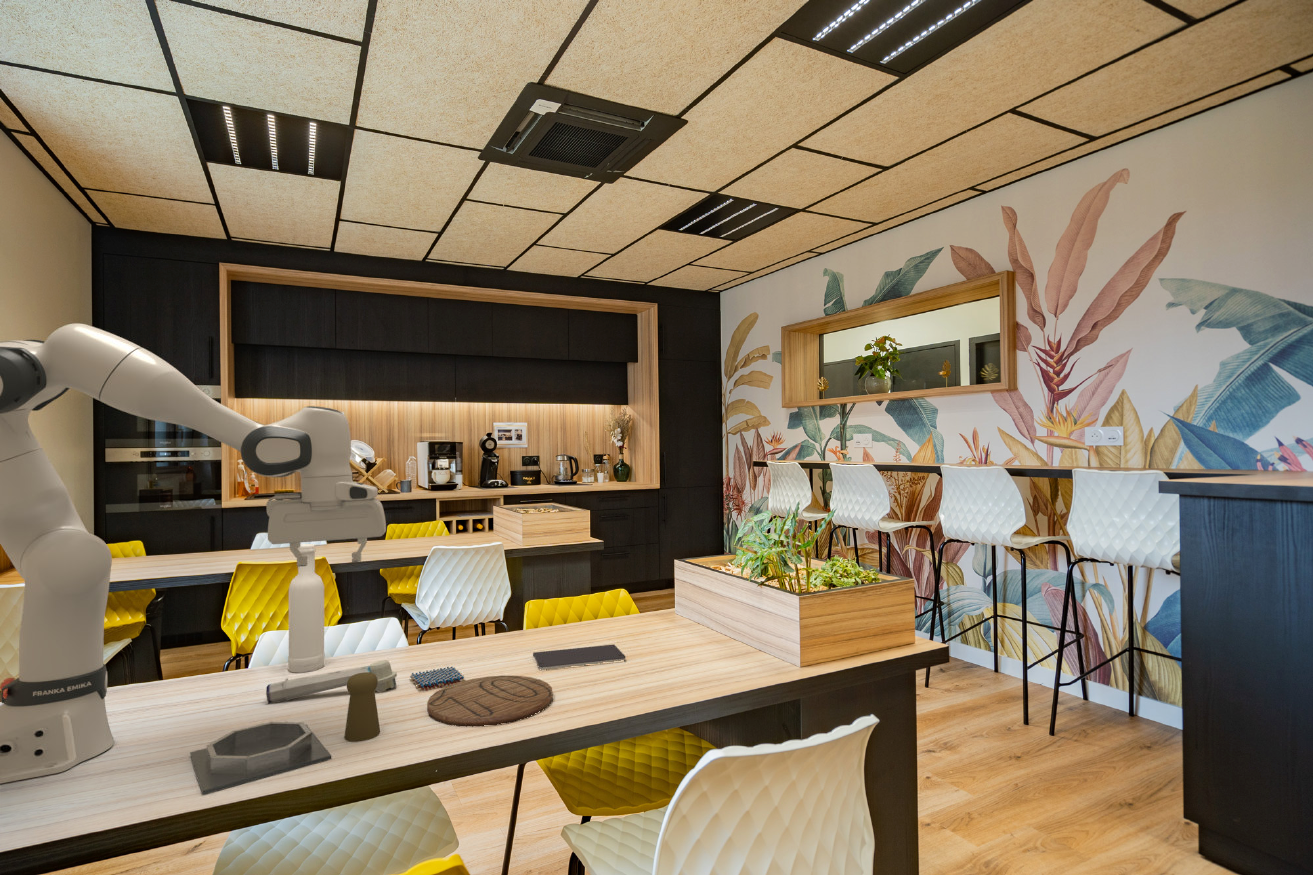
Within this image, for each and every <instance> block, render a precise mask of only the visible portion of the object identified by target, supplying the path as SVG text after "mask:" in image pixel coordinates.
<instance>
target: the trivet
mask: <svg viewBox="0 0 1313 875" xmlns="http://www.w3.org/2000/svg"><path fill="white" fill-rule="evenodd" d="M465 680H466V679H465ZM551 701H552V702H553V687H552V686H551V685H550V684H549V683H548V682H547V681H544V680H541V679H539V678H534V677H531V676H524V675H523V676H522V675H492V676H484V677H478V678H471V679H467V680H466V681H462V682H458V683H455V684H454V683H453V684H452V685H449V686H446V687H442V688H440V689H439V690H436V691H435V692H434V693H433V694H432V695H430V697H428V700H427V702H426V705H427V706H426V710H427V714H428V716H429V718H431V719H432V720H433V721H435V722H438V723H440V724H444V725H449V726H453V725H454V727H460V726H466V728H467V726H472V728H474V727H473V726H482V727H485V726H484V725H494V726H498V725H497V724H500V725H502V724H501V723H506V724H510V723H509V722H511V723H515V722H519V721H521V720H520V719H522V720H525V719H524V718H526V719H528V718H527V717H529V718H530V716H531V715H533V716H535V715H536V714H535V713H538V712H539V711H541V712H543V711H544V710H545V709H544V708H546V707H547V706H548V707H550V705H551V704H552V702H551ZM549 704H550V705H549ZM548 707H547V708H548ZM547 708H546V709H547ZM543 709H544V710H543ZM542 710H543V711H542ZM534 714H535V715H534ZM538 714H539V713H538ZM531 717H532V716H531ZM518 720H519V721H518ZM514 721H515V722H514ZM455 725H456V726H455Z"/></svg>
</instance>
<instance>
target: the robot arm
mask: <svg viewBox="0 0 1313 875" xmlns="http://www.w3.org/2000/svg"><path fill="white" fill-rule="evenodd" d="M70 389H72V390H76V391H78V392H81V393H82V394H83V393H84V394H86V395H87V396H89V397H90V398H93V399H95V400H97V401H100V402H101V403H102V404H103V403H104V404H105V405H107V406H109V407H112V408H114V409H117V410H119V411H120V412H125V413H127V414H129V415H133V416H136V417H140V418H143V419H147V420H150V421H156V422H157V421H158V422H163V423H169V424H174V425H178V426H183V427H186V428H188V429H192V430H194V431H197V432H199V433H202V434H204V435H206V436H208V437H209V438H212V439H214V440H216V441H218V442H221V443H222V444H224V445H226V446H228V447H231V448H233V449H235V450H236V451H238V452H239V453H240V457H241V459H242V462H243V463H244V465H245V466H246V467H247V468H248V469H249V470H250V471H252V472H253V473H255V474H257V475H259V476H263V477H268V478H284V477H289V476H292V475H293V474H295V473H297V472H299V474H300V491H301V492H293V493H278V494H275V495H274V496H272V497H270V498H269V499H268V500H267V502H266V514H267V516H268V517H269V518H268V525H267V540H268V542H269V543H270V544H272V545H282V544H283V545H284V544H285V545H286V544H289V551H290V552H291V553H292V554H293V556H294V557H295V558H296V566H297V568H298V567H303V566H307V564H308V562H307V556H302V554H301V553H300V551H299V550H298V548H299V547H300V545H301V543H310V542H324V541H325V542H326V541H337V540H338V541H341V540H351V539H352V540H353V539H357V545H360V546H359V547H358V549H357V551H355V552H352V553H351V558H352V559H351V563H360V562H362V552H363V550H364V548H365V547H366V545H367V543H368V538H378V537H382V536H383V535H384V534H385V533H386V531H387V523H386V522H387V521H386V515H385V511H384V507H383V504H382V502H381V501H380V500H379V499H377V496H378V493H379V490H378V488H377V486H374V485H368V484H365V483H363V482H357V481H354V480H353V471H352V468H351V464H350V463H351V462H350V460H351V459H350V458H351V455H352V440H351V437H352V436H351V431H350V425H349V421H348V418H347V417H346V416H345V414H344V413H342V412H341V411H339V410H337V409H335V408H330V407H324V406H323V407H322V406H316V405H315V406H314V405H313V406H312V405H311V406H310V405H308V406H304V407H303V408H302V409H300V410H299V411H297V412H296V413H294V414H292V415H290V416H288V417H286V418H283V419H280V420H278V421H275V422H272V423H269V424H263V423H261V422H257V421H255V420H253V419H250V418H248V417H246V415H243V414H241V413H239V412H237V411H235V410H233V409H232V408H229V407H227V406H225V405H223V404H221V403H220V402H218V401H216V400H215V399H213V398H211V397H210V396H208V395H207V393H205V392H204V391H202V390H201V389H200V388H199V387H198V386H196V385H195V384H194V383H193V382H192V381H191V380H190V379H189V378H187V376H185V375H184V374H183V373H182V372H181V371H179V370H178V369H177V368H176V367H174V366H173V365H171V364H170V363H169V362H168V361H166V360H164V359H163V358H161V357H160V356H158V355H156V354H155V353H153V352H152V351H150V350H148V349H146V348H144V347H141V346H140V345H138V344H136V343H134V342H132V341H129V340H128V339H126V338H123V337H122V336H121V337H120V336H118V335H116V334H114V333H111V332H109V331H106V330H103V329H101V328H98V327H95V326H93V325H92V326H91V325H89V324H86V323H75V322H74V323H70V324H65V325H63V326H61V327H58V328H57V329H56V330H54V331H52V333H51V334H50V335H48V336H47V338H46V340H39V339H23V340H19V339H18V340H1V341H0V545H1V547H2V548H3V549H2V550H4V552H5V554H6V555H7V557H8V558H9V560H10V562H11V563H12V565H13V567H14V568H15V570H16V572H17V573H18V574H19V576H20V578H22V579H23V580H24V592H23V593H24V595H23V604H22V615H21V622H20V628H19V633H18V634H19V635H18V637H19V639H18V645H19V646H18V677H17V678H16V679H15V677H7V678H5V679H3V681H2V682H1V684H0V691H1V692H0V693H1V694H0V696H1V698H0V699H1V705H0V784H6V783H10V782H15V781H20V780H26V779H27V780H28V779H31V778H37V777H42V776H48V775H53V774H59V773H62V772H65V771H67V770H69V769H71V768H73V767H74V766H76V765H78V764H80V763H81V762H84V761H86V760H90V759H92V758H93V757H96V756H99V755H100V754H102V753H104V752H105V751H107V750H109V749H110V748H111V747H112V746H114V744H115V739H114V737H113V734H112V730H111V728H110V724H109V719H108V715H107V709H106V708H107V707H106V701H105V697H106V696H107V692H108V671H107V665H106V664H105V663H104V642H105V640H104V637H105V630H104V628H105V615H106V610H107V604H108V598H109V591H110V580H111V572H112V570H111V569H112V563H113V558H112V553H111V550H110V548H109V546H108V545H107V544H106V542H105V541H104V540H103V539H102V538H100V537H99V536H97V535H96V534H95V535H94V534H92V533H90V532H89V531H88V530H87V527H85V524H84V523H83V521H82V518H81V517H80V515H79V513H78V511H77V509H76V506H75V505H74V503H73V500H72V498H71V496H70V493H69V492H68V489H67V487H66V485H65V483H64V481H63V480H62V479H61V477H60V475H59V473H58V472H57V470H56V469H55V467H54V466H53V464H52V462H51V460H50V459H49V457H48V455H47V453H46V452H45V451H44V449H43V447H42V446H41V444H40V443H39V441H38V440H37V438H36V437H35V435H34V433H33V431H32V429H31V427H30V424H29V417H30V416H29V415H30V413H31V412H32V411H34V412H35V411H36V412H37V411H38V412H39V411H40V410H42V409H43V408H44V407H46V406H48V405H50V404H52V402H53V401H56V400H57V399H58V398H60V397H61V396H63V395H64V394H65V393H66V392H68V391H69V390H70Z"/></svg>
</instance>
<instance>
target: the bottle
mask: <svg viewBox="0 0 1313 875" xmlns="http://www.w3.org/2000/svg"><path fill="white" fill-rule="evenodd" d="M315 547H316V546H315V544H314V543H305V544H300V547H299V548H298V550H299V551H300V553H301V554H302V556H307V562H308V564H307V566H303V567H297V572H298V573H297V575H295V577H293V578H292V580H291V582H290V584H289V587H288V657H287V664H288V671H289V672H290V673H295V674H296V673H297V674H300V673H299V672H302V673H308V672H307V671H309V672H314V671H317V670H319V669H321V668H323V667H324V666H325V658H326V654H325V585H324V582H323V579H322V577H321V576H320V575H318V574H317V573H316V567H315V566H316V564H315V563H316V562H315V560H316V559H315V557H316V556H315V554H316V548H315ZM316 669H317V670H316ZM313 670H314V671H313Z"/></svg>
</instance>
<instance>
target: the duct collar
mask: <svg viewBox="0 0 1313 875" xmlns="http://www.w3.org/2000/svg"><path fill="white" fill-rule="evenodd" d="M189 757H190V760H191V764H192V767H193V770H194V772H195V775H196V778H197V782H198V784H199V787H200V791H201V794H202V796H204V795H208V794H211V793H214V792H219V791H222V790H225V789H229V788H232V787H236V786H240V785H243V784H246V783H251V782H255V781H258V780H262V779H264V778H268V777H271V776H276V775H279V774H283V773H286V772H290V771H294V770H297V769H299V768H304V767H307V766H311V765H314V764H315V765H316V764H318V763H322V762H326V761H329V760H332V754H331V753H330V752H329V750H328V749H327V748H326V747H325V745H324V744H323V743H322V742H321V740H320V739H318V737H317V736H316V734H315V733H314V732H313V731H312V730H311V728H310V727H309V726H308V725H307V724H306V723H305V722H303V721H301V722H300V721H269V722H264V723H261V724H256V725H253V726H248V727H244V728H240V729H236V730H232V731H230V732H228V733H226V734H225V735H222V736H221V737H219V738H218V739H215V740H214V741H212V742H210V743H208V744H207V745H206V747H205V748H202V749H198V750H193V751H190V752H189Z"/></svg>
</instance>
